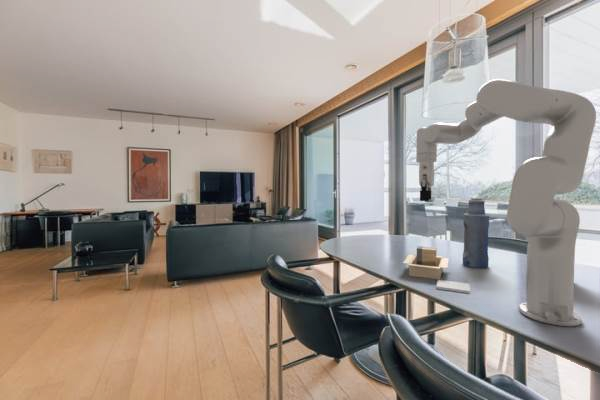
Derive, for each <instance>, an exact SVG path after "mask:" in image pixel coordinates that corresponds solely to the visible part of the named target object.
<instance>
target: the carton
mask: <svg viewBox="0 0 600 400" xmlns="http://www.w3.org/2000/svg"><path fill="white" fill-rule="evenodd" d="M449 262H450V258H449V257H444V256H441V255H436V267H434V266H425V265H417V253H415V254H408V255H407V256H406V258H405V259H404V261H403V262H402V264H403V265H407V266H408V276H409V277H410V276H411V277H418V278H426V279H432V280H442V279H441V278H442V275H443V269H444V270H445V269H448V268H449Z"/></svg>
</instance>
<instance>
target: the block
mask: <svg viewBox="0 0 600 400" xmlns="http://www.w3.org/2000/svg"><path fill="white" fill-rule="evenodd" d="M416 254H417V265H425V266H434V267H436V256H437V247H429V246H419V245H418V246H417V247H416Z"/></svg>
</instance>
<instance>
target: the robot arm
mask: <svg viewBox="0 0 600 400" xmlns="http://www.w3.org/2000/svg"><path fill="white" fill-rule="evenodd" d="M464 113H465V119H464V120H462V121H460V122H457V123H445V122H444V123H443V122H435V123H432V124H430V125H428V126H424V127H420V128H418V129H417V130H416V152H415V153H416V156H415V158H416V161H415V162H416V163H417V164H419V165H418V182H419V186H420V190H419V200H420V202H429V200H432V187H433V186H434V185H435V163H436V162H437V155H438V154H437V152H438V151H437V150H438V147H437V146H438V144H447V145H453V144H454V145H456V144H459V143H462V142H464V141H468V140H469V139H471V138H473V137H475V136H476V135H477V134H478V133H479V132H480V131H481V130H482V128H483V127H484V126H487V125H489V124H491V123H493V122H495V121H497V120H500V119H501V118H504V117H505V118H507V119H511V120H514V121H519V122H523V123H532V124H544V125H545V124H547V125H549V126H551V129H550V130H549V131H548V134H547V136H546V138H545V140H544V143H543V144H544V145H543V150H542V154H541V156H537V157H532V158H529V159H527V160H525V161H524V162H523V163H521V164H520V165H519V167H517V169H516V171H515V173H514V175H513V180H512V183H511V189H510V194H509V200H508V205H507V211H506V220H507V224H508V226H509V228H510V230H512V231H513V232H514V233H515V234H516V235H519V236H521V237H525V238H529V239H528V242H527V249H526V285H525V286H526V290H525V291H526V295H525V296H526V298H525V302H522V303H519V306H518V307H519V308H518V310H519V312H520V313H521V314H523V315H524V316H525V317H527V318H530V319H533V320H535V321H538V322H541V323H545V324H547V325H548V324H549V325H554V326H559V327H576V326H579V325H581V324H582V317H581V316H580V315H579V314H578V313H576V312H574V295H575V293H574V288H575V257H576V256H575V255H576V254H575V252H576V242H577V236H578V233H579V229H580V221H581V219H580V218H581V217H580V214H579V211H578V210H577V208H576V207H575V206H574V205H573V204H572V203H570V202H568V201H566V200H563V199H559V198H555V197H556V195H565V194H569V193H572V192H575V191H576V190H577V189H578V188H579V187H580V186H581V184H582V182H583V177H584V172H585V169H586V164H587V160H588V156H589V155H588V154H589V151H590V145H591V140H592V136H593V133H594V129H595V126H596V120H597V110H596V108H595V106H594V104H593V102H592V101H590V100H589V99H588V98H587V97H584V96H583V95H581V94H577V93H574V92H571V91H566V90H560V89H553V88H546V87H539V86H534V85H528V84H524V83H522V82H520V81H517V80H516V81H515V80H508V79H503V78H496V79H492V80H489V81H488V82H486V83H484V84H483V85H482V86H481V87H480V88H479V90H478V92H477V94H476V100H475V101H474V102H472V103H470V104H469V105H468V106H467V107H466V108H465V112H464Z"/></svg>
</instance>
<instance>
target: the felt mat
mask: <svg viewBox="0 0 600 400" xmlns="http://www.w3.org/2000/svg"><path fill="white" fill-rule="evenodd" d="M435 288H436V290H437V289H438V290H443V291H444V290H446V291H452V292H457V293H465V294H471V288H470V283H466V282H459V281H452V280H444V279H440V280H439V279H437V282H436V286H435Z"/></svg>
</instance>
